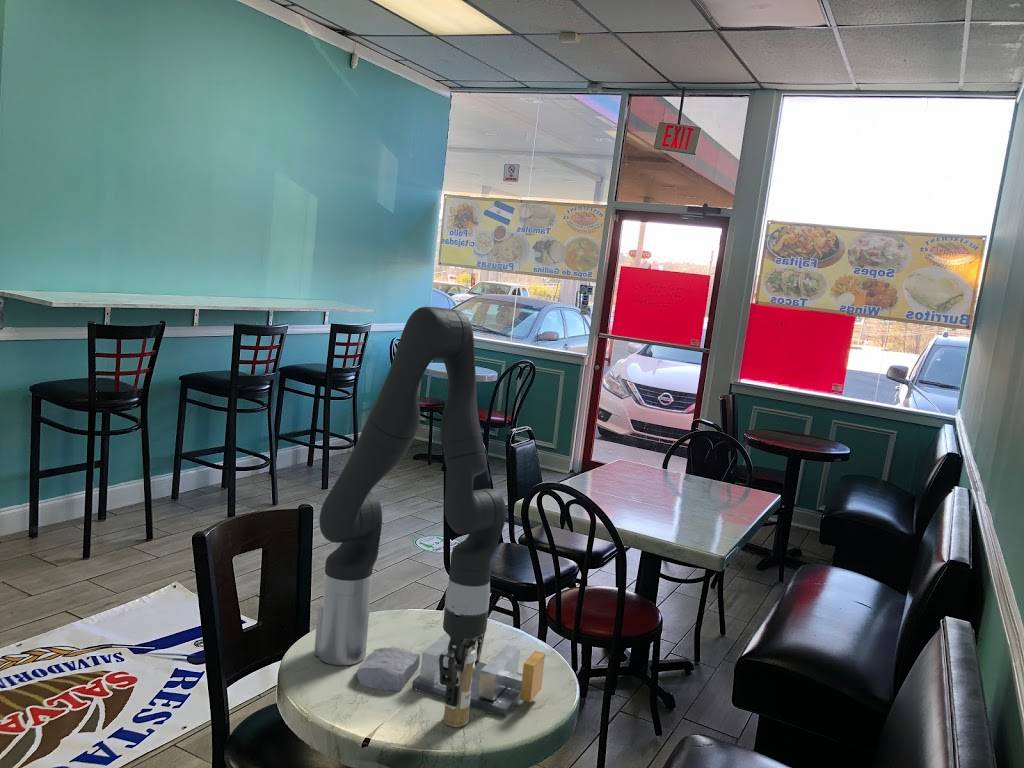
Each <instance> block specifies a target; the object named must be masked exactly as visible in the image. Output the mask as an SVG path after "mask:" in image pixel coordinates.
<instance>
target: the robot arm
mask: <svg viewBox="0 0 1024 768" xmlns="http://www.w3.org/2000/svg"><path fill="white" fill-rule="evenodd" d="M475 353H476V352H475V338H474V330H473V326H472V323H471V321H470V319H469V317H468V316H467V314H465V313H464V312H463V311H461V310H459V309H453V308H447V307H446V308H445V307H438V306H437V307H436V306H422V307H419V308H417V309H416V310H414V311H413V312H412V313H411V314H410V316H409V317H408V319H407V321H406V323H405V325H404V328H403V330H402V332H401V335H400V338H399V341H398V344H397V347H396V350H395V354H394V355H393V359H392V361H391V365H390V368H389V371H388V372H387V375H386V378H385V380H384V382H383V384H382V387H381V390H380V391H379V394H378V396H377V398H376V401H375V402H374V405H373V406H372V408H371V410H370V412H369V415H368V416H367V419H366V421H365V423H364V426H363V428H362V430H361V432H360V435H359V437H358V440H357V442H356V444H355V446H354V448H353V450H352V452H351V454H350V456H349V458H348V460H347V462H346V464H345V466H344V468H343V470H342V472H341V473H340V475H339V477H338V478H337V480H336V481H335V483H334V485H333V486H332V488H331V489H330V491H329V493H328V494H327V496H326V497H325V500H324V502H323V504H322V505H321V510H320V513H319V519H318V520H319V523H318V524H319V528H320V532H321V534H322V536H323V538H325V539H326V540H327V541H329V542H330V543H335V544H336V543H337V544H339V546H338V547H337V548H336V549H335V550H334V551H332V552H331V553H330V554H329V555H327V557H326V560H325V564H324V577H323V578H324V579H323V593H322V594H323V595H322V603H321V604H322V605H321V606H320V607H319V608H318V609H317V613H316V622H315V623H316V625H315V639H314V652H313V653H314V654H313V655H314V656H317V657H318V658H319V659H320V660H321V661H322V662H324V663H326V664H329V665H334V666H351V665H355V664H358V663H361V662H363V661H364V660H365V659H366V655H367V654H366V651H367V641H368V640H367V639H368V631H369V618H370V606H371V595H372V593H371V592H372V583H373V582H372V581H373V580H372V579H373V570H374V569H373V568H374V565H375V563H376V562H377V560H378V555H379V549H380V541H381V540H380V539H381V535H382V527H383V509H382V505H381V501H380V500H379V498H378V496H376V494H375V493H374V492H371V491H372V490H373V488H374V487H375V486H376V485H377V484H378V483H379V482H380V481H381V480H382V479H383V478H385V477H386V476H387V475H388V474H389V473H390V472H391V471H392V470H393V469H394V468H395V467H396V466H397V465H398V464H399V463H400V462H401V461H402V459H404V457H405V456H406V454H407V452H408V451H409V449H410V446H411V445H412V443H413V442H414V439H415V437H416V435H417V433H418V430H419V428H420V424H421V409H420V401H419V387H420V384H421V382H422V379H423V376H424V374H425V373H426V370H427V368H428V367H429V365H430V363H431V362H432V361H443V364H444V368H445V370H446V375H447V383H448V386H447V387H448V388H447V394H446V401H445V404H444V406H443V411H442V416H441V419H440V420H441V421H440V441H441V446H442V451H443V457H444V463H445V466H446V475H445V494H444V515H445V520H446V522H447V524H448V525H449V527H450V528H451V529H452V531H454V533H456V534H458V535H463V536H465V535H467V537H466V538H465V539H464V540H462V541H461V542H459V543H457V544H456V545H455V546H454V547H453V548H452V550H451V554H450V555H451V556H450V564H449V573H448V574H449V575H448V581H447V584H446V585H447V586H446V589H445V601H444V609H443V620H442V621H443V622H442V629H443V631H444V632H445V634H446V633H447V634H448V635H449V636H450V642H449V644H448V648H447V651H448V653H447V654H446V655H443V654H441V655H440V657H439V669H440V684H442V685H446V697H445V698H444V704H445V703H446V704H447V705H450V706H454V707H455V706H457V705H458V701H459V691H460V682H461V677H462V673H464V672H465V671H466V667H467V659H468V656H470V654H471V650H472V649H475V650H476V653H475V660H474V663H473V672H474V670H475V665H478V664H479V662H480V660H481V655H482V649H483V645H484V640H485V636H486V632H487V626H488V619H489V618H488V617H489V610H490V609H489V607H490V597H491V571H492V562H493V556H494V554H495V551H496V549H497V548H498V545H499V541H500V538H501V535H502V533H503V529H504V527H505V524H506V520H507V508H506V503H505V500H504V498H503V496H502V494H501V493H500V492H499V491H497V490H496V489H495V488H494V489H493V488H482V489H475V490H474V482H475V481H474V480H475V477H476V476H480V475H481V474H483V473H485V472H486V470H487V468H488V460H487V459H488V458H487V454H486V449H485V444H484V441H483V440H484V439H483V434H482V429H481V424H480V419H479V412H478V399H477V378H476V377H477V376H476V373H477V372H476V358H475V357H476V355H475ZM456 663H457V664H462V665H461V667H457V666H456ZM456 672H457V677H456ZM473 672H472V673H473Z"/></svg>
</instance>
